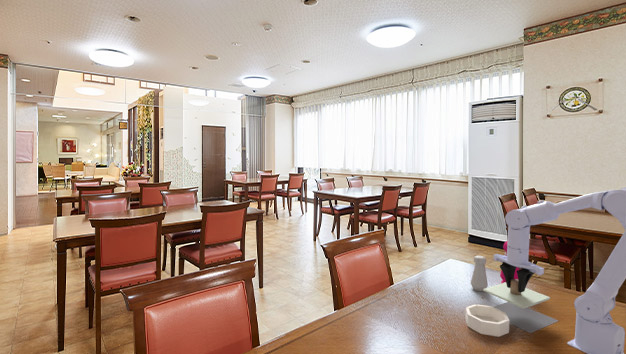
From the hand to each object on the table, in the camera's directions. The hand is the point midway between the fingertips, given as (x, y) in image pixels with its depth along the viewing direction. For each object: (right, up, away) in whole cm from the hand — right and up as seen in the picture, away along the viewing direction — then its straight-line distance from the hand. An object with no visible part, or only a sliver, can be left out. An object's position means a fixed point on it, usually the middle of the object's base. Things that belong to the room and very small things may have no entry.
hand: (515, 289), depth 102 cm
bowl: (-12, -10, -4) cm, 16 cm away
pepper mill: (+13, -8, +24) cm, 28 cm away
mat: (+2, -9, +2) cm, 10 cm away
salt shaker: (-1, -8, +21) cm, 23 cm away
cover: (0, -2, 0) cm, 2 cm away
